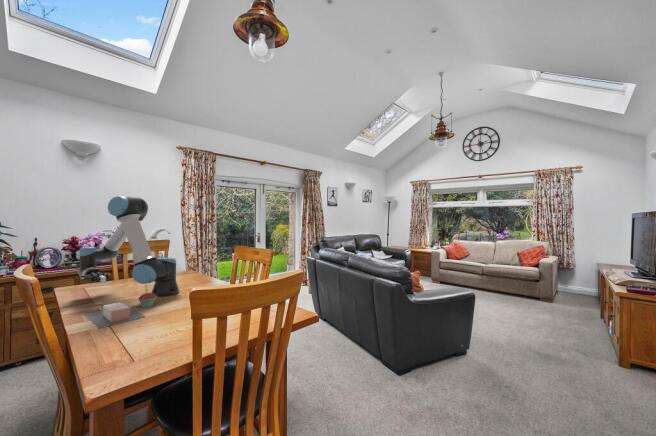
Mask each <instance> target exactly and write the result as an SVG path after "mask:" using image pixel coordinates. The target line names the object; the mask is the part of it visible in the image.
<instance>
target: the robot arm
mask: <svg viewBox="0 0 656 436" xmlns="http://www.w3.org/2000/svg"><path fill="white" fill-rule="evenodd" d="M107 210H108V213H109V214H110V215H112V216H114V217H115V218H116V221H117V222H119V223H120V224H119V226H117V228H116V230H114V232H113V233H112V235H111V236H110V238H108V241H107V242H106V243H105V244H104V246H103V247H102V248H96V246H82V247H80V248H79V254H78V255H79V256H78V257H79V269H78V271H77V272H78V273H77V274H78V276H79V277H80V280H81V281H86V282H92V283H94V282H95V283H99V282H101V283H106V282H107V280H109V278H110V277H111V273H110V271H107V272H102V270H100V269H99V268H98V267H97V262H98V261H99V262H100V261H106V260H112V259H114V258H117V257H118V256H119V249H120V247H121V246H122V245H123V244H124V242H125V241H127V240H128V243H129V246H130V249H131V252H132V255H133V257H134V263H133V266H134V267H133V269H132V271H131V276H132V278H133V280H134V281H135V282H136V283H139V284H142V285H147V284H151V283H153V287H152V289H151V293H154V294H156V295H157V298H161V297H170V296H175V295H177V294H179V291H180V288H179V286H178V282H177V259H176V258H174V257H157V256H155V255H154V254H152V251H151V248H150V246H149V243H148V240H147V238H146V235H145V232H144V229H143V226H142V224H141V222H142V221H143V220H144V219H145V217H146V216H147V214H148V211H149V206H148V203H147V201H146V200H145V199H143V198H141V197H136V196H135V197H133V196H125V195H119V196H118V195H117V196H116V195H115V196H113V197H112V198H111V199H110V200H109V202H108V203H107ZM126 239H127V240H126Z"/></svg>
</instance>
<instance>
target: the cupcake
mask: <svg viewBox="0 0 656 436" xmlns="http://www.w3.org/2000/svg"><path fill="white" fill-rule="evenodd" d="M157 298H158V297H157V295H156V294H154V293H152V292H148V285H147V284H145V293H142V294H141V295H140V296H139V297H138V302H139V303H140V304H141V307H142V308H148V307H152V306H153V304H154V302H155V300H157Z"/></svg>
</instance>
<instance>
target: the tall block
mask: <svg viewBox="0 0 656 436" xmlns="http://www.w3.org/2000/svg"><path fill="white" fill-rule="evenodd" d="M126 305H127V304H125V303H123V302H122V301H118V302H114V303H109V304H104V305H103V306H102V310H103V316H104V317H106V318H107V319H108V320H110V321H111V322H116V321H120V320H124V319H128V318H130V306H129V305H128V306H129V307H128V306H126Z"/></svg>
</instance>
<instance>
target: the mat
mask: <svg viewBox="0 0 656 436" xmlns="http://www.w3.org/2000/svg"><path fill="white" fill-rule="evenodd" d="M125 305H126V306H128V307H130V306H129V305H127V304H125ZM83 315H84V316H85V317H86V318H87V319H88V320H89V321H91V323H93V324H94V325H95V326H96V327H97V328H98V329H99V330H100V329H104V328H105V329H106V328H108V327H113V326H117V325H120V324H124V323H128V322H131V321H132V322H133V321H136V320H140V319H144V318H145V319H146V317H147V316H146V315H144V314H142V313H141V312H139V311H137V310H136V309H134V308H133V307H130V318H128V319H124V320H120V321H116V322H111V321H110V320H108V319H107V318H106V317H104V316H103V309H101V310H95V311H90V312H85V313H83Z"/></svg>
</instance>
